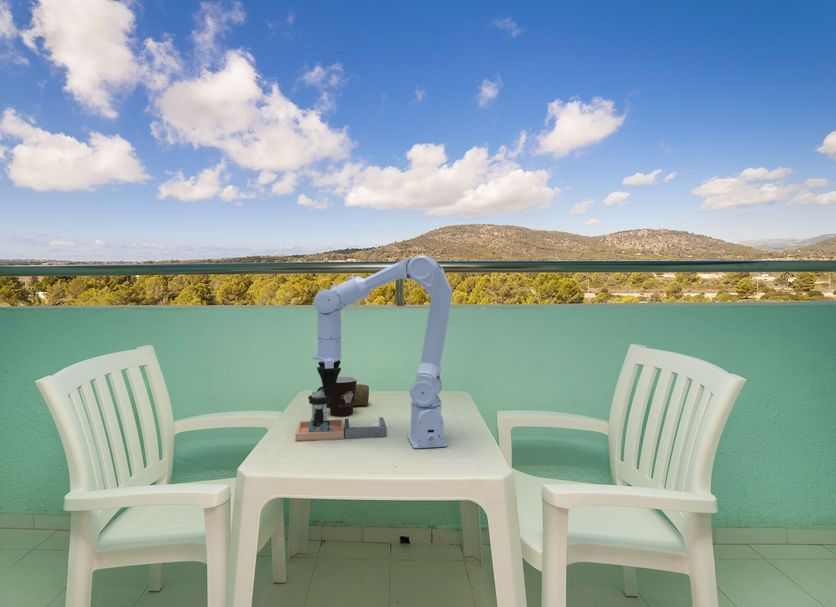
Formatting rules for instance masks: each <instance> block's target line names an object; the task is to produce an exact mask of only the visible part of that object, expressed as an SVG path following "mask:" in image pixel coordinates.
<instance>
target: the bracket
mask: <svg viewBox="0 0 836 607" xmlns="http://www.w3.org/2000/svg"><path fill="white" fill-rule="evenodd" d="M349 420H350V419H349V418H344V425H343V429H344V439H345V440H347V439H349V440H350V439H370V438H372V439H373V438H387V436H388V435H387V433H388V429H387V424H386V422H385V419H384V417H382V416H380V417H378V425H376V426H375V425H374V426H357V427H356V426H354V427H351V426H350V422H349Z"/></svg>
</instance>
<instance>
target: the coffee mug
mask: <svg viewBox="0 0 836 607" xmlns="http://www.w3.org/2000/svg"><path fill="white" fill-rule="evenodd" d="M357 382H358V379H357V377H355V376H354V377H353V376H338V378H337V381H336V387H335V393H334V396H330V398H329V404H328V403H327V405H328V406H327V407H329V413H330V416H331V417H336V418H344V417H349V416H353V414H354V407H355V406H354V399H355V391H356V384H357ZM321 389H323V385H322V386H320V387H318V388H317V389H316V391H321Z"/></svg>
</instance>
